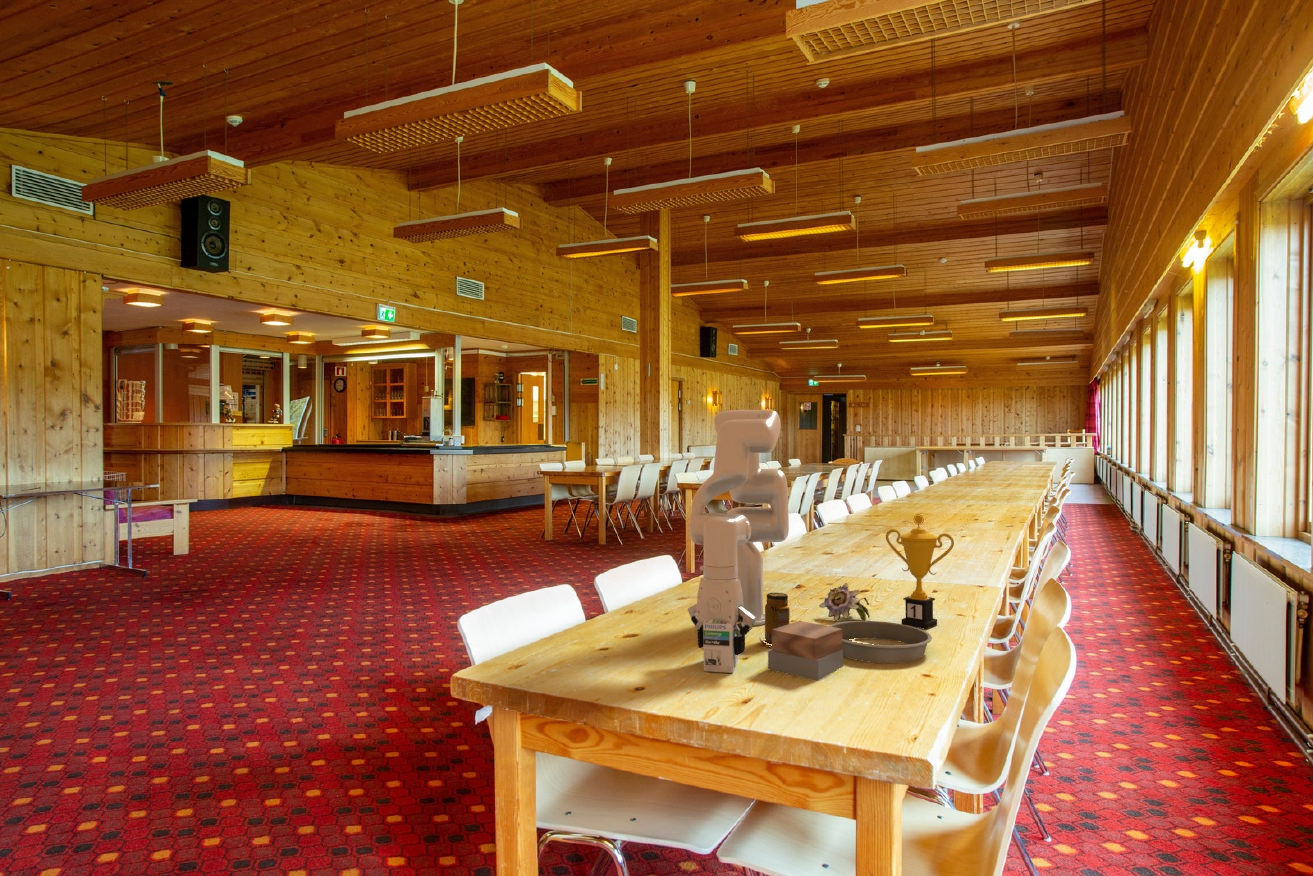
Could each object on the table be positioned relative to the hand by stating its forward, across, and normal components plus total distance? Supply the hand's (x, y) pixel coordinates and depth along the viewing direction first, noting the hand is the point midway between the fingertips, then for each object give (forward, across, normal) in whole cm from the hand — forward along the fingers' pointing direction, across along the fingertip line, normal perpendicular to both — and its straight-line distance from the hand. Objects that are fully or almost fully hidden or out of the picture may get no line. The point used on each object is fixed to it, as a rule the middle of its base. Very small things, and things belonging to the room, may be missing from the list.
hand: (720, 650), depth 166 cm
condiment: (+4, +1, +24) cm, 24 cm away
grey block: (+4, +16, +10) cm, 19 cm away
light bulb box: (+4, 0, 0) cm, 4 cm away
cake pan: (+4, +23, +33) cm, 40 cm away
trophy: (+3, +23, +63) cm, 67 cm away
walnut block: (-1, +16, +10) cm, 19 cm away
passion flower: (+4, +4, +58) cm, 58 cm away
